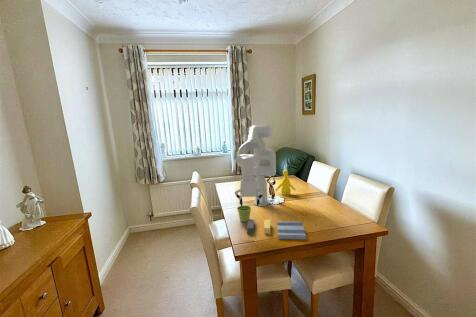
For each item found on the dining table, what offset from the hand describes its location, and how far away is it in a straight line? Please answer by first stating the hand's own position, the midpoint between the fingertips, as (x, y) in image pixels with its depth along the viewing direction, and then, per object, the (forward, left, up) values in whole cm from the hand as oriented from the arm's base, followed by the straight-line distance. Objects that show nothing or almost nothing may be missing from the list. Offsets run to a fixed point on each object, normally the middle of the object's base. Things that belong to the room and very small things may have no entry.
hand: (249, 205), depth 137 cm
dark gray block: (0, 0, -16) cm, 16 cm away
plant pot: (-12, -5, -16) cm, 21 cm away
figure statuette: (-62, +25, -16) cm, 69 cm away
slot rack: (+2, +24, -16) cm, 28 cm away
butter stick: (0, +10, -16) cm, 19 cm away
